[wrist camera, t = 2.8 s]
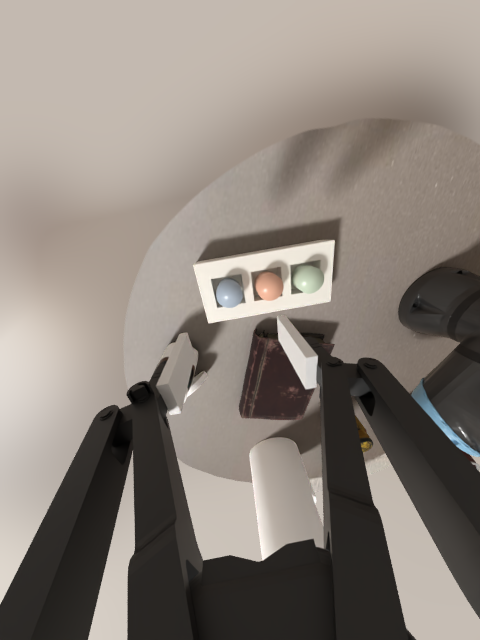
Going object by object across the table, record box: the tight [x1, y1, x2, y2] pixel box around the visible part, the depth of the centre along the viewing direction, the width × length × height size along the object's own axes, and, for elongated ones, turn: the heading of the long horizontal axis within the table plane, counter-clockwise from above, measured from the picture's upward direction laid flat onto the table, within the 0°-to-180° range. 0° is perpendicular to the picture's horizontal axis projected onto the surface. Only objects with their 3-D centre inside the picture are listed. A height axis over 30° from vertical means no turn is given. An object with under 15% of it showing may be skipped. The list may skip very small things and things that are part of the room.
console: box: [193, 240, 335, 324], centre depth 34 cm, size 24×11×4 cm, turn 99°
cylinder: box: [249, 437, 324, 561], centre depth 50 cm, size 17×17×28 cm
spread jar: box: [153, 342, 208, 402], centre depth 37 cm, size 12×11×12 cm
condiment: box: [319, 403, 373, 452], centre depth 49 cm, size 7×8×12 cm
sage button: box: [291, 265, 324, 294], centre depth 31 cm, size 4×4×3 cm
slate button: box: [216, 278, 243, 308], centre depth 31 cm, size 4×4×3 cm
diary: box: [239, 329, 334, 420], centre depth 45 cm, size 19×25×5 cm
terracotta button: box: [254, 271, 284, 301], centre depth 31 cm, size 4×4×3 cm
